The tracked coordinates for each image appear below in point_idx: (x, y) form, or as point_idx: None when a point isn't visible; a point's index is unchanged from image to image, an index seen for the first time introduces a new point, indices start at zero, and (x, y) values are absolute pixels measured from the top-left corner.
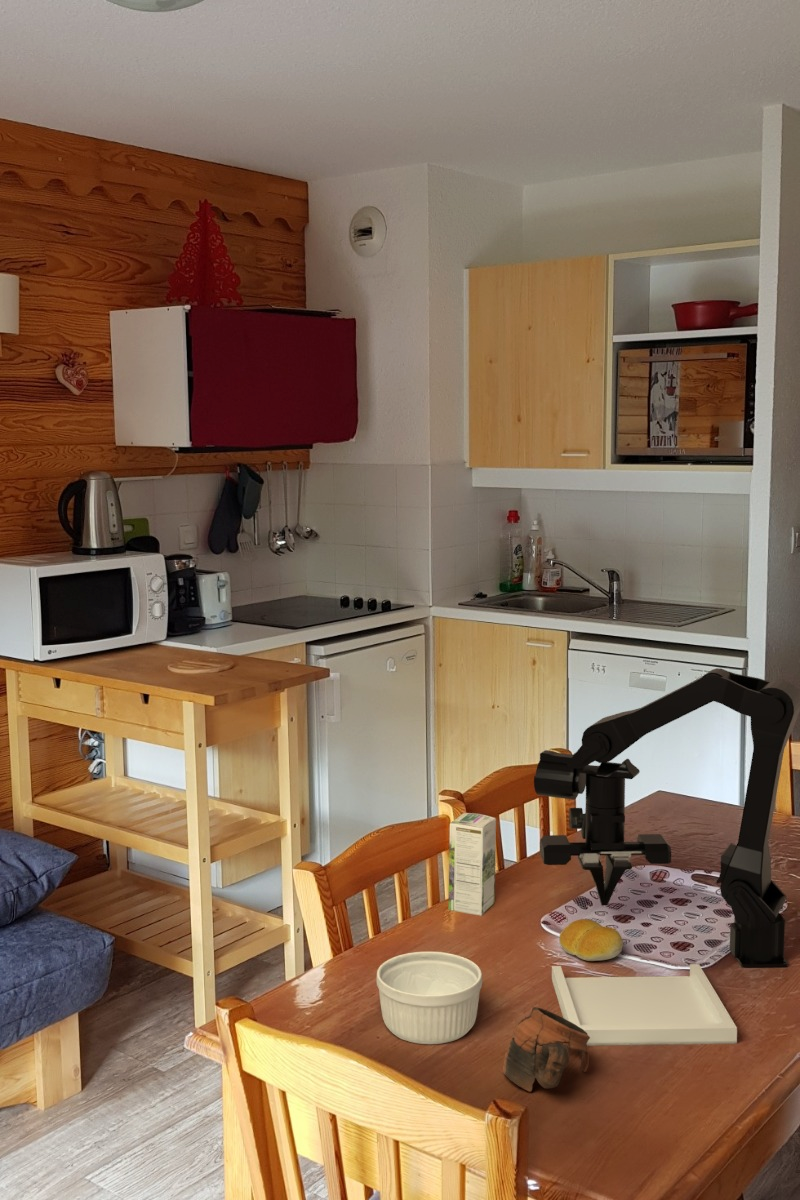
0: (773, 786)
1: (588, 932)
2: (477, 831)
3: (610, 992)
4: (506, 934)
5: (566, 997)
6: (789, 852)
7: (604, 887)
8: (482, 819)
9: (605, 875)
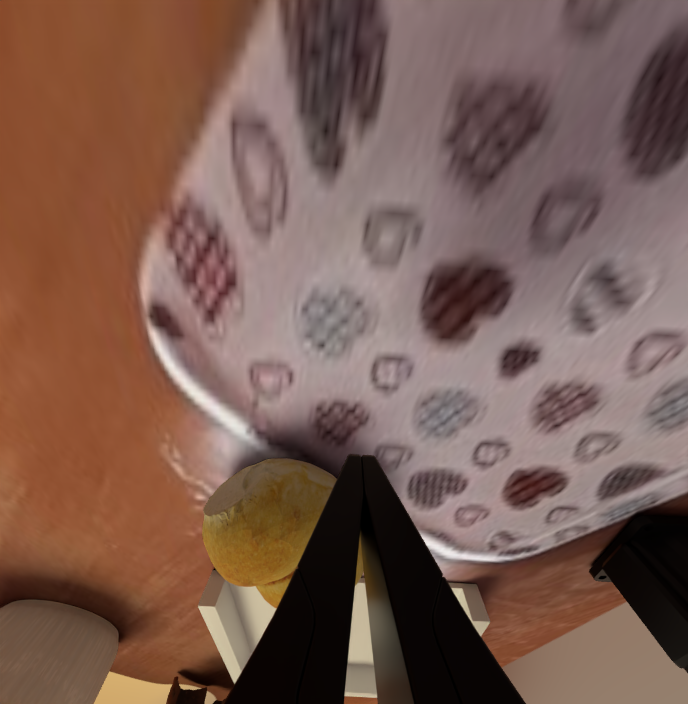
0: None
1: (268, 599)
2: None
3: None
4: (59, 398)
5: (228, 657)
6: None
7: (371, 543)
8: None
9: (398, 644)
